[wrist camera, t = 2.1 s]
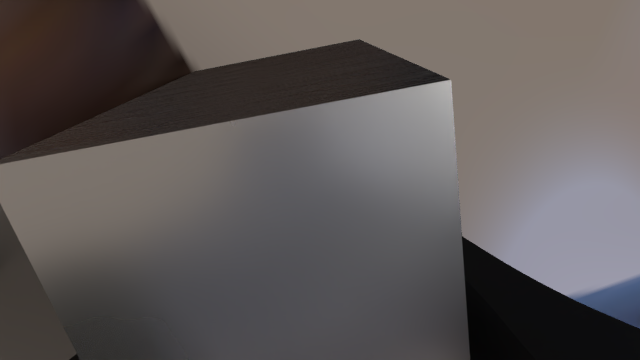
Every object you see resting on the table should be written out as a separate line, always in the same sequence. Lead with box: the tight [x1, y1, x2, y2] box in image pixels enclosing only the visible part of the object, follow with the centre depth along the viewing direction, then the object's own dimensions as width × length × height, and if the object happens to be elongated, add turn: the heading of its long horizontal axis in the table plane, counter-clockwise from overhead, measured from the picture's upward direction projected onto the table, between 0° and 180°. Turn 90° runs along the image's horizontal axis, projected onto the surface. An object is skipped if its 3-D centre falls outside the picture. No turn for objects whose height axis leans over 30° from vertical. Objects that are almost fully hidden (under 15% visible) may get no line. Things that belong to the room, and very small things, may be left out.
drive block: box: [0, 39, 470, 360], centre depth 8 cm, size 4×10×7 cm, turn 10°
